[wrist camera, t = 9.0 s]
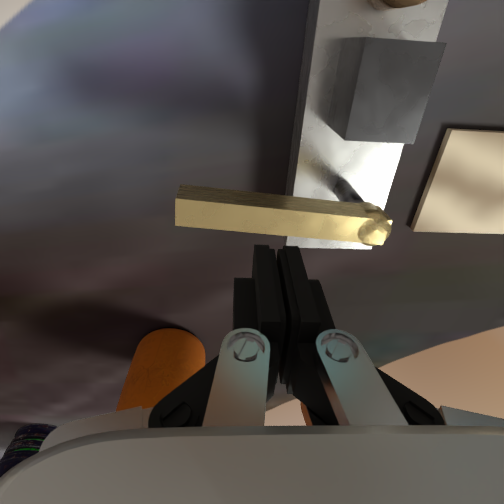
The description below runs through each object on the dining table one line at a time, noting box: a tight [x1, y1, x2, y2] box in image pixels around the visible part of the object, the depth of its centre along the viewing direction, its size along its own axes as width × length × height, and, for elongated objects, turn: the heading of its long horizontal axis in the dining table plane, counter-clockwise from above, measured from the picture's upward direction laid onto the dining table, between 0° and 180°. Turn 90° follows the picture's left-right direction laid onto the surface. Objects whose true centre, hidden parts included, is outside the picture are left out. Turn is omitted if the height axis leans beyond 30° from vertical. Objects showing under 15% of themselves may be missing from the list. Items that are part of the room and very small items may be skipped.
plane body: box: [283, 0, 448, 249], centre depth 26 cm, size 24×9×9 cm, turn 177°
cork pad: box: [410, 128, 504, 234], centre depth 34 cm, size 11×11×1 cm
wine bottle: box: [116, 328, 205, 411], centre depth 34 cm, size 10×10×30 cm
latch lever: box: [175, 184, 392, 246], centre depth 23 cm, size 15×2×2 cm, turn 82°
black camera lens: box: [0, 424, 58, 477], centre depth 51 cm, size 10×10×15 cm
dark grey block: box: [327, 37, 446, 144], centre depth 23 cm, size 6×5×5 cm
